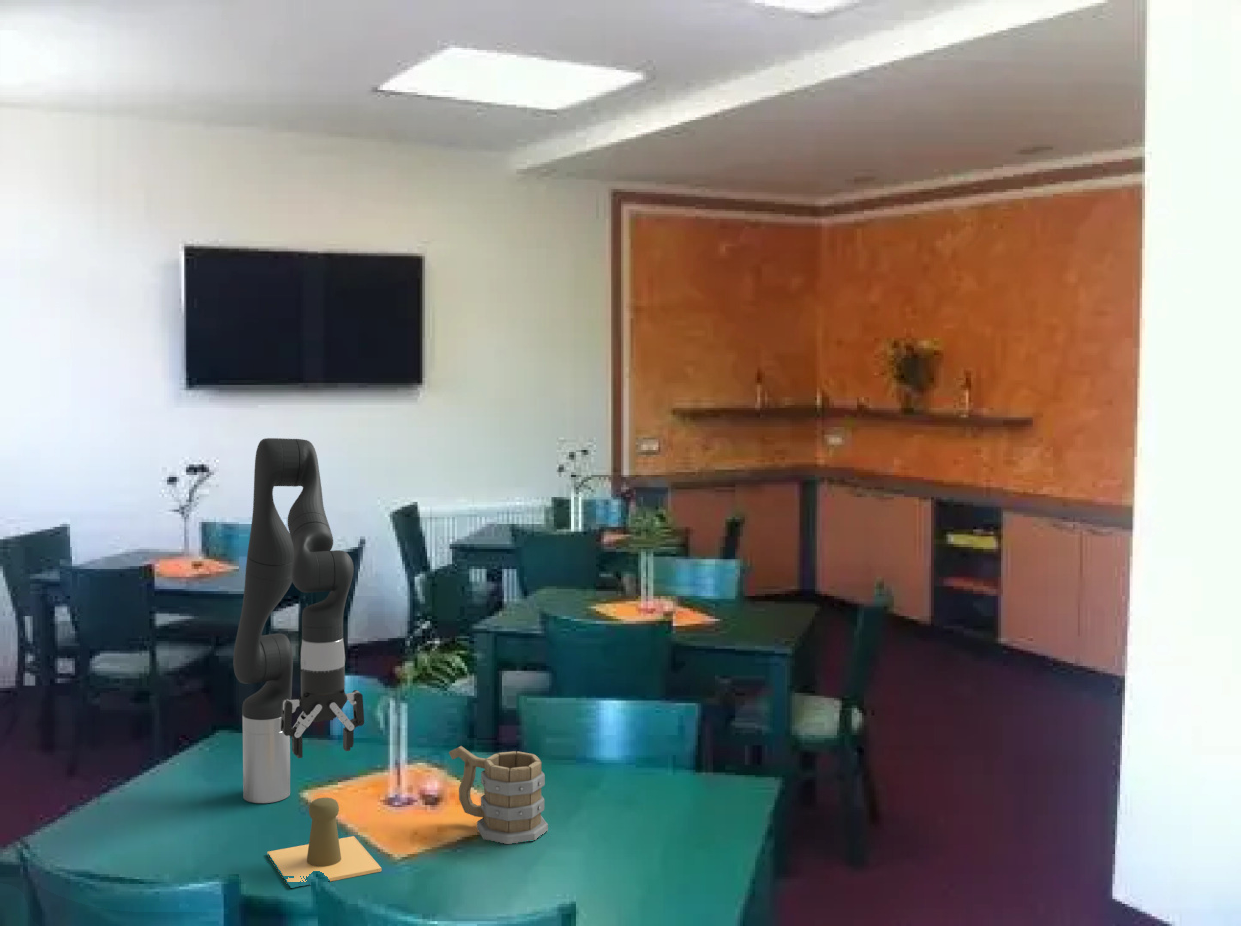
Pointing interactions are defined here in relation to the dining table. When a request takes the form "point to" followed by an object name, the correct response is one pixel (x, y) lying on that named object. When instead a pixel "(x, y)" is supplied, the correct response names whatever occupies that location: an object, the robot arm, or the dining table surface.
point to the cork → (323, 833)
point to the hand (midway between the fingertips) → (322, 753)
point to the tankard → (505, 795)
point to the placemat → (350, 865)
